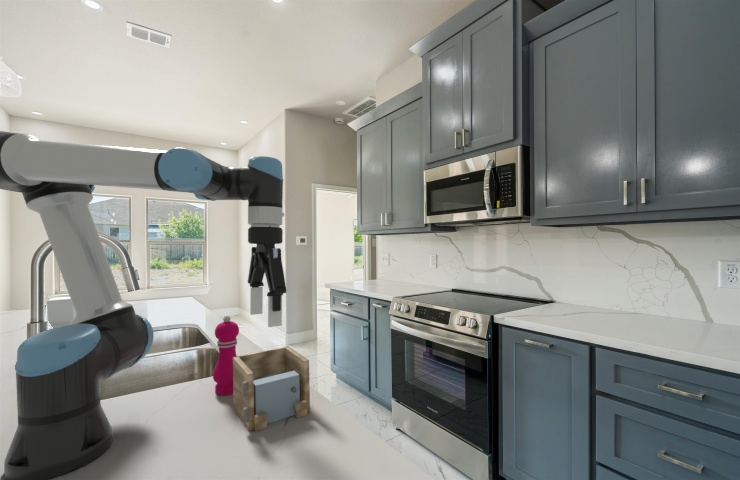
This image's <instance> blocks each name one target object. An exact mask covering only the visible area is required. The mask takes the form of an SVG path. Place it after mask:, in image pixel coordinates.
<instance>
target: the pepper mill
mask: <svg viewBox="0 0 740 480" xmlns="http://www.w3.org/2000/svg"><path fill="white" fill-rule="evenodd" d="M222 320H223V321H222V322H220V323H219V324H217V325H216V327H215V329H214V336H215V337H216V339H217V341H216V343H217V344H216V346H217V348H218V357H217V361H216V364H215V366H214V369H213V373H212V380H213V381H214V383H216V384H215V385H214V390H215V391H214V392H215V394H216V395H218V396H230V395H233V357H236V356H238V355H237V351H236V350H237V349H236V346H237V345H238V338H237V337H238V336H239V334H240V327H239V325H238V324H237V323H236V322H235V321H231V317H230V316H229V315H225V316H224V317H223V319H222Z"/></svg>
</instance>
